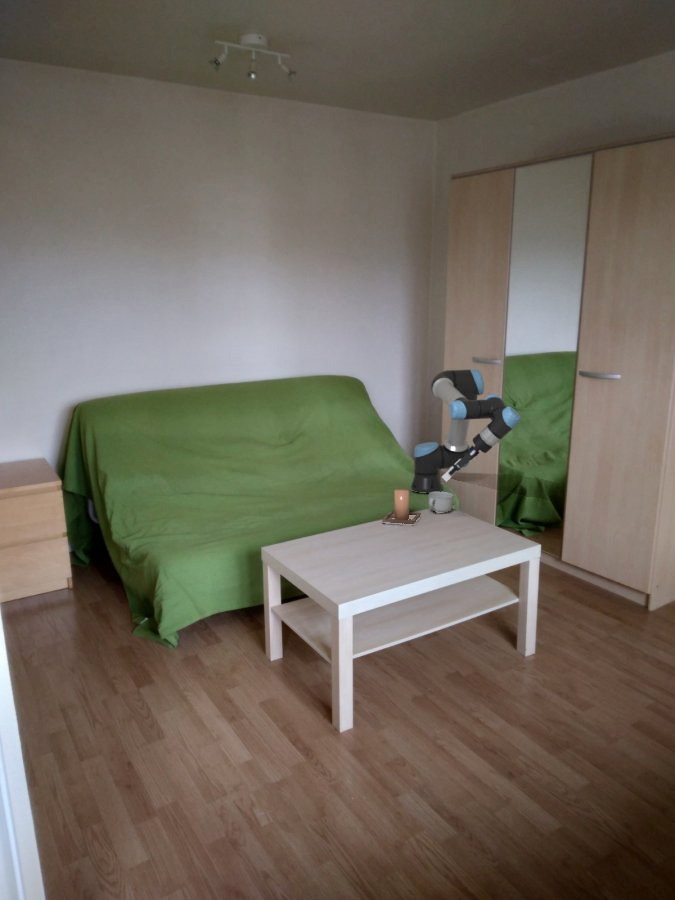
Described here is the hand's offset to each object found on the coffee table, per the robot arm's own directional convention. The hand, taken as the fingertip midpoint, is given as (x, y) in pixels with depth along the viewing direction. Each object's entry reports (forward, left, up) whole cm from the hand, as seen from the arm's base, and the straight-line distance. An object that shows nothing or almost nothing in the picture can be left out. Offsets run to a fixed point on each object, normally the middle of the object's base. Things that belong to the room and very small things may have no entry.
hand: (447, 475), depth 263 cm
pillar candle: (0, -19, -19) cm, 27 cm away
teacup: (-16, -7, -21) cm, 27 cm away
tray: (0, -19, -20) cm, 28 cm away
